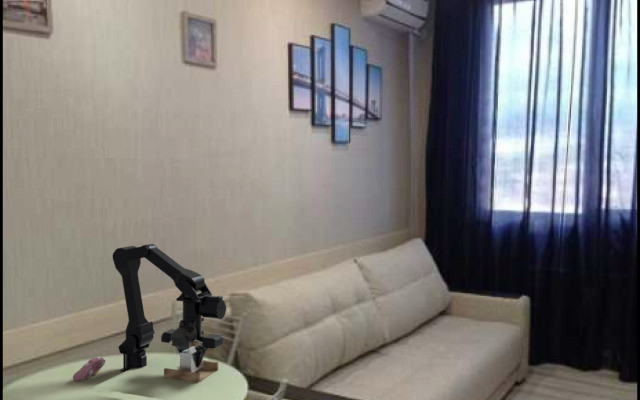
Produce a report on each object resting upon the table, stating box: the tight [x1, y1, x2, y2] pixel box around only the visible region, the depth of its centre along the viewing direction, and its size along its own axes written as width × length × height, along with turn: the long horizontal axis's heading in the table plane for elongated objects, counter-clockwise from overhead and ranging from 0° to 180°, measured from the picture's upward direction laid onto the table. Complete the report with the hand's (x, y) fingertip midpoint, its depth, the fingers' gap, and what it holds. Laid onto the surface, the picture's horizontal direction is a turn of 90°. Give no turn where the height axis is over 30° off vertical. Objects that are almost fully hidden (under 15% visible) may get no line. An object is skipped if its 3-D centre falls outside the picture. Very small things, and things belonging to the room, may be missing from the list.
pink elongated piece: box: [72, 356, 106, 382], centre depth 177 cm, size 10×5×7 cm, turn 168°
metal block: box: [179, 345, 205, 372], centre depth 176 cm, size 4×7×6 cm, turn 161°
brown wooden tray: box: [163, 359, 219, 383], centre depth 176 cm, size 12×12×4 cm
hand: (191, 366), depth 176 cm, fingers closed on metal block, 4 cm apart
